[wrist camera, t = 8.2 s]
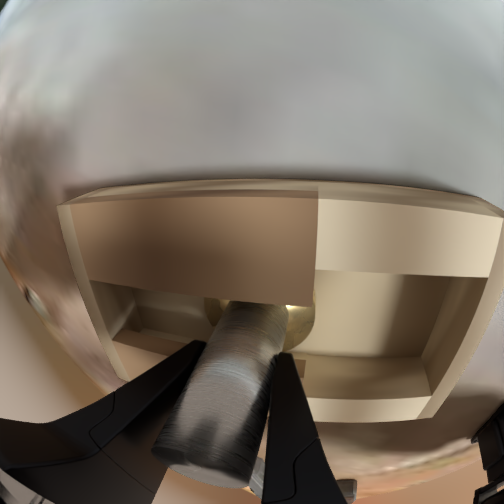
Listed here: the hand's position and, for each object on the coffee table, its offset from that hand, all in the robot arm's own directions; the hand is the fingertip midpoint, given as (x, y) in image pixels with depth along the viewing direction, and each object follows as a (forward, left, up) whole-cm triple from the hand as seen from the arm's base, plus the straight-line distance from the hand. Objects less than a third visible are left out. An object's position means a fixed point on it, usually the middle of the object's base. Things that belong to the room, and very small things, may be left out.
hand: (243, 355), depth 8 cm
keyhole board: (0, 0, -4) cm, 4 cm away
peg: (0, 0, -3) cm, 3 cm away
